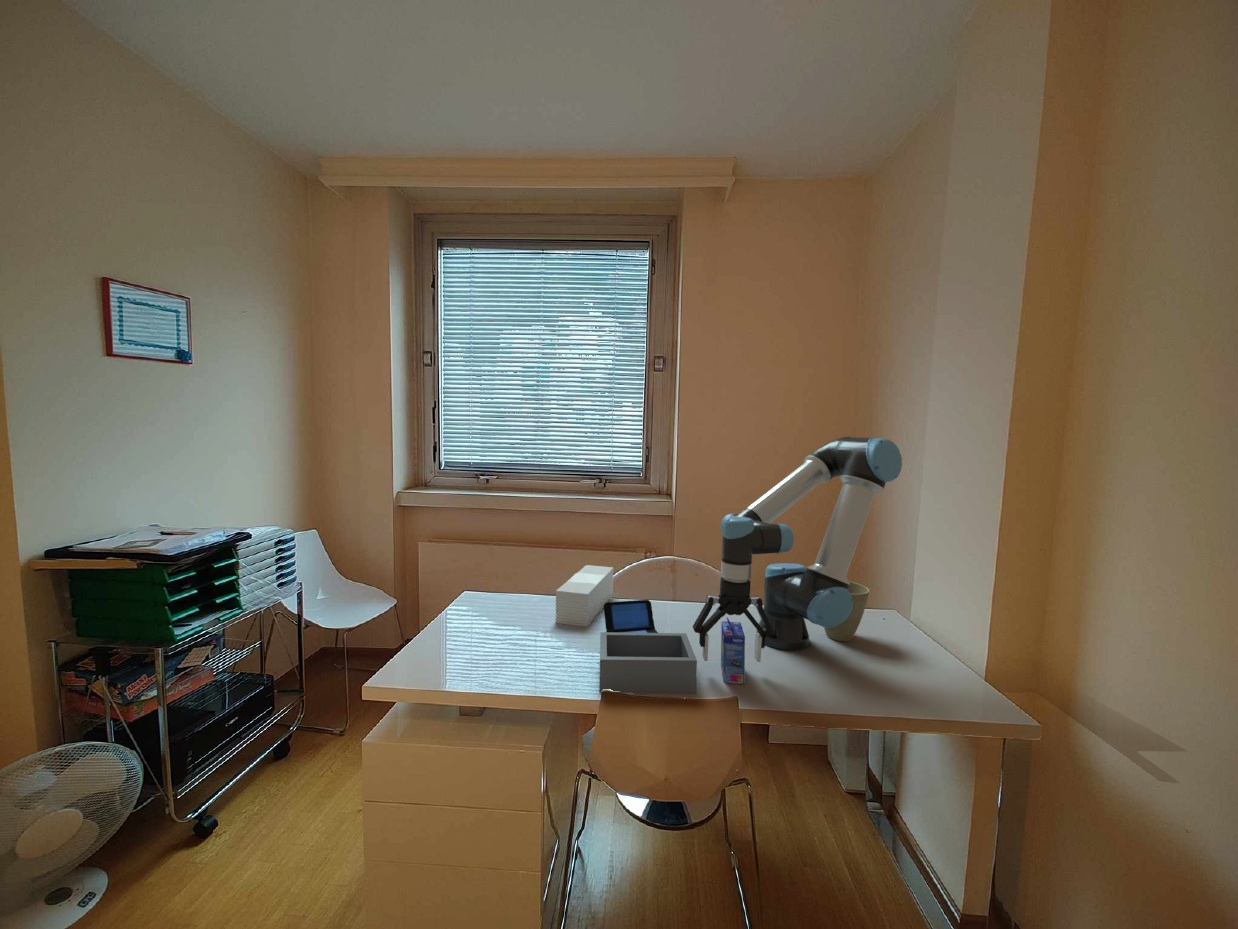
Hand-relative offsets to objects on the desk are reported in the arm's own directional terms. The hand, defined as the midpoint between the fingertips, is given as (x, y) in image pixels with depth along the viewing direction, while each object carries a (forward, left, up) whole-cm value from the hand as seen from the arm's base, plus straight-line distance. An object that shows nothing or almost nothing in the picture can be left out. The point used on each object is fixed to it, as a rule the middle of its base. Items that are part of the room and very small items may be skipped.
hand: (731, 659), depth 131 cm
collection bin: (+22, +1, -4) cm, 23 cm away
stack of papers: (+39, -47, -5) cm, 61 cm away
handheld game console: (+24, -23, -5) cm, 33 cm away
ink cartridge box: (0, 0, -4) cm, 4 cm away
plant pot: (-40, -25, -4) cm, 48 cm away
